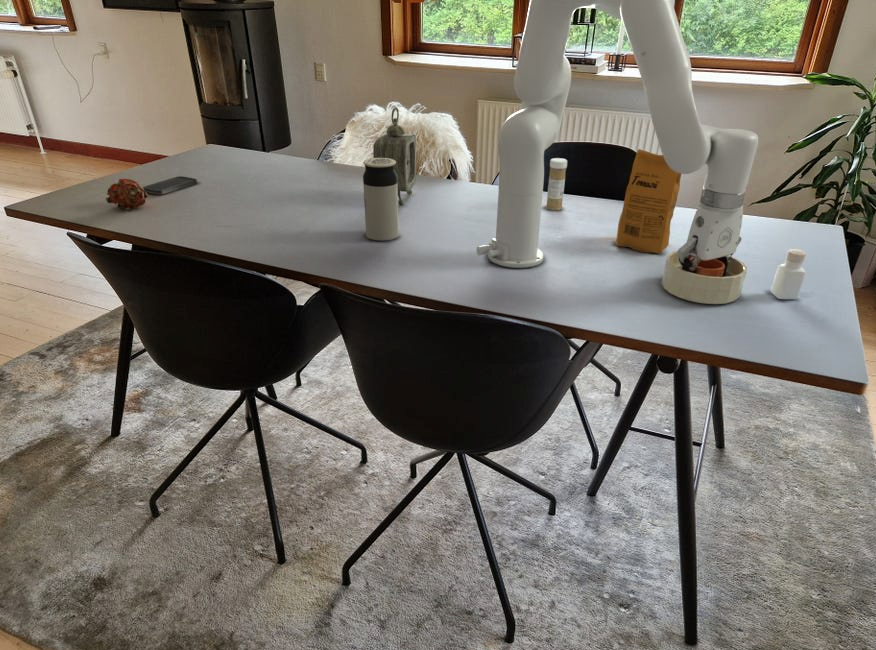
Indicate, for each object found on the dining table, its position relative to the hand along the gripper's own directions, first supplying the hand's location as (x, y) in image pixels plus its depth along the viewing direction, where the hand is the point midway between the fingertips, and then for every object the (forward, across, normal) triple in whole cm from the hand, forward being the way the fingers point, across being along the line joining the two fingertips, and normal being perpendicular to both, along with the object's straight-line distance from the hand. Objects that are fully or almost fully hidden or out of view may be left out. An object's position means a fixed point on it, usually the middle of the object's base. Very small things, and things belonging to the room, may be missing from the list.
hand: (701, 281), depth 128 cm
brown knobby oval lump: (+2, -97, +110) cm, 147 cm away
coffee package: (+2, +8, +25) cm, 26 cm away
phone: (+2, -84, +126) cm, 151 cm away
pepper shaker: (+2, +13, -10) cm, 17 cm away
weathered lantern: (+2, -29, +85) cm, 90 cm away
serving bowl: (+2, 0, 0) cm, 2 cm away
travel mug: (+2, -45, +59) cm, 74 cm away
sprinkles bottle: (+2, +7, +58) cm, 58 cm away
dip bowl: (+1, 0, 0) cm, 1 cm away
